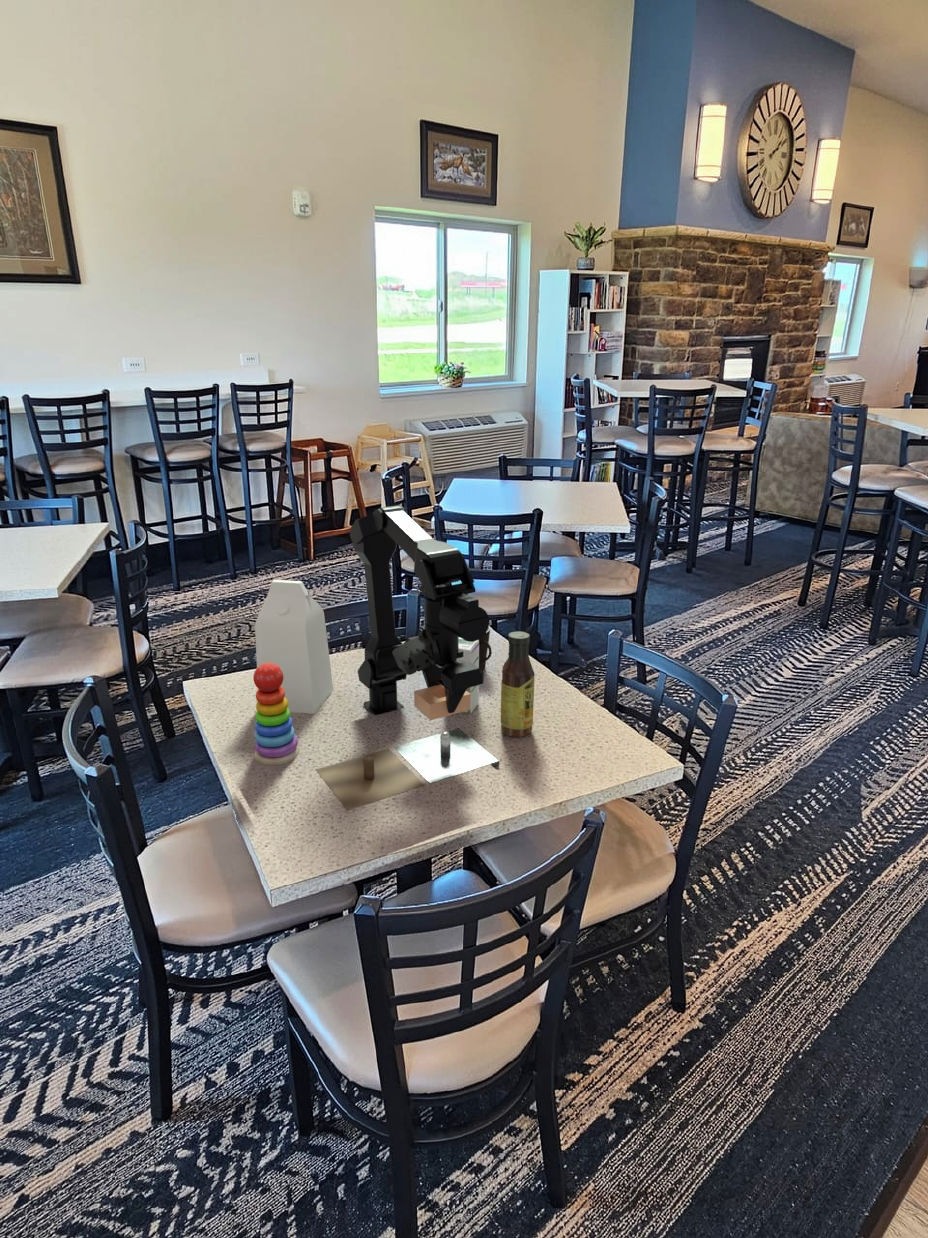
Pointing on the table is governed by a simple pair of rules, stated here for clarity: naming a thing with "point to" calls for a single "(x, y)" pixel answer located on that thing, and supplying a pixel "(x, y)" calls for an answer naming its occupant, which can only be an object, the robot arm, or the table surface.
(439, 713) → the square tube wooden block
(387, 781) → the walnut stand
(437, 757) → the hub base
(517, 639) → the sauce bottle
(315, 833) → the table surface
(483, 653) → the coffee mug
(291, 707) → the milk
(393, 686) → the robot arm
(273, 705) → the stacking toy
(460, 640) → the syrup box
